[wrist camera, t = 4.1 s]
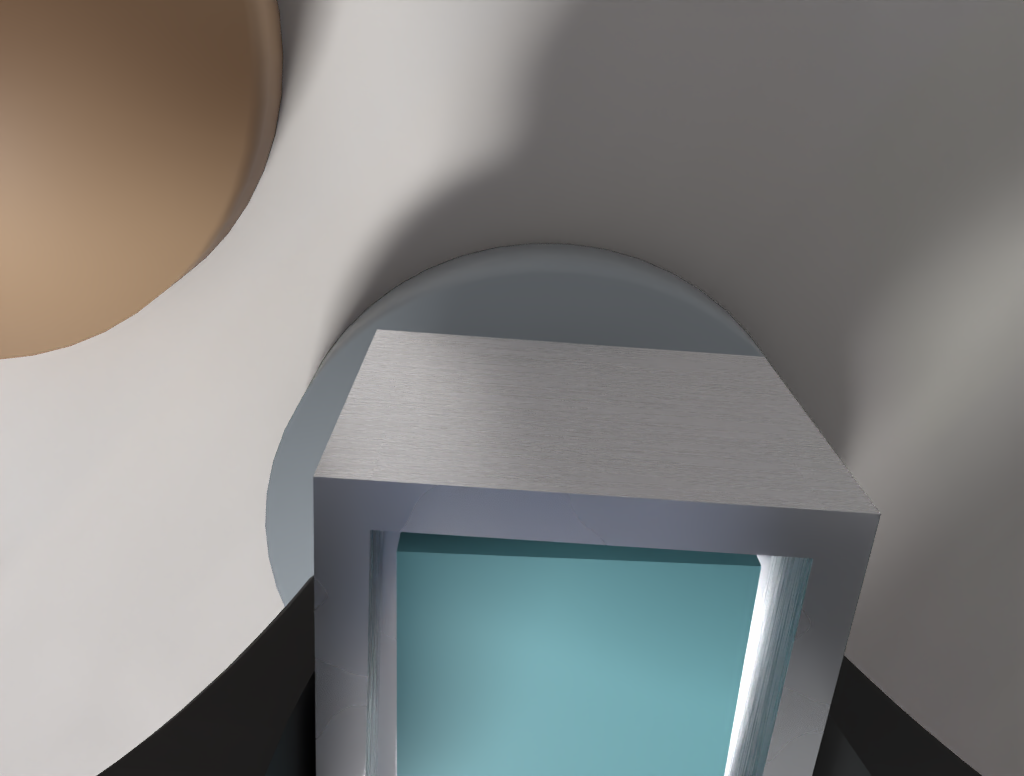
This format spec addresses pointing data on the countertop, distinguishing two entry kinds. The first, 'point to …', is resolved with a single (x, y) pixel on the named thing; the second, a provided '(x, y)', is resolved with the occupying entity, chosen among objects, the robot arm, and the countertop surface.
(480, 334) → the grey stand
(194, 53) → the walnut stand
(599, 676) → the cover plate
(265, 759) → the robot arm
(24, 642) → the countertop surface
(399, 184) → the countertop surface
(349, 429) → the white and teal box
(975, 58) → the countertop surface
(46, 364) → the countertop surface
